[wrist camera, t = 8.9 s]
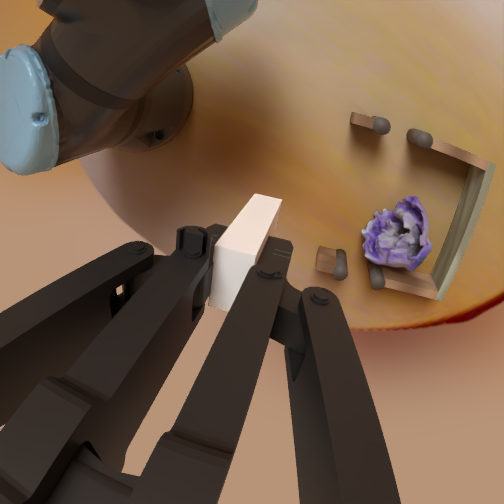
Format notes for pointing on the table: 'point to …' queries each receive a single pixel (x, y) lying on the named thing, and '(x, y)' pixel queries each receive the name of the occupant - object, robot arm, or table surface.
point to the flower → (398, 236)
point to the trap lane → (455, 239)
